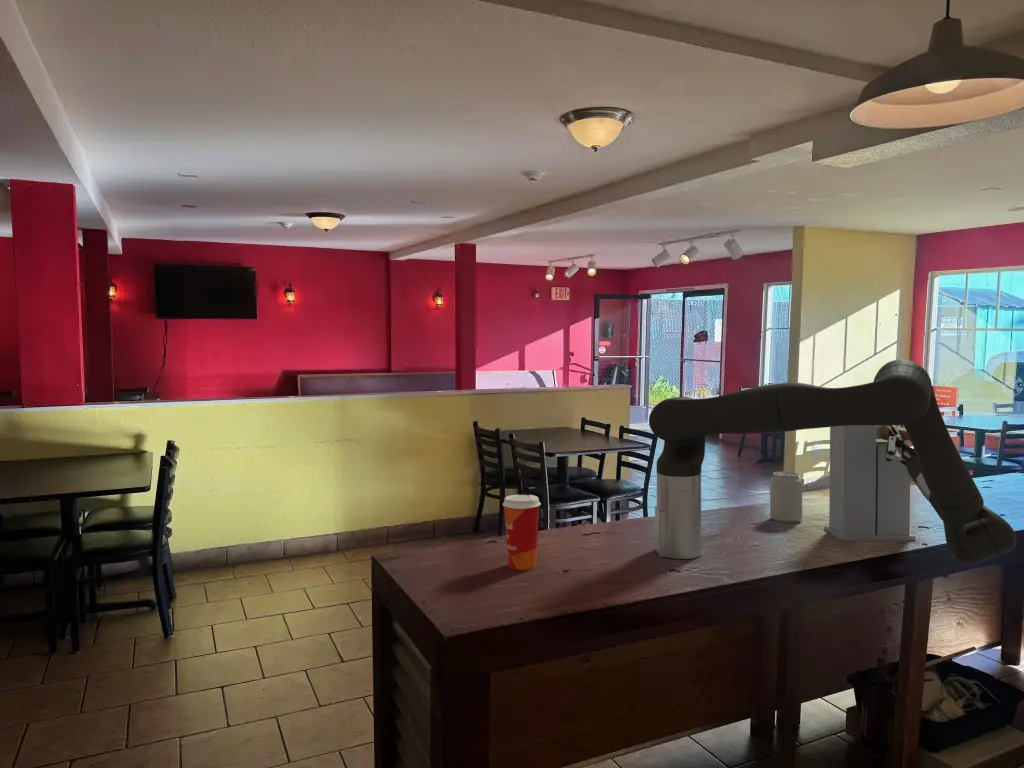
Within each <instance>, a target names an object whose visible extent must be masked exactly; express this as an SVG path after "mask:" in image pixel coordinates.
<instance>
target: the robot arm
mask: <svg viewBox="0 0 1024 768" xmlns="http://www.w3.org/2000/svg"><path fill="white" fill-rule="evenodd" d="M648 417H649V418H648V425H649V428H650V430H651V432H652V433H653V434H654V436H656V437H657V439H658V438H659V439H660V440H662V441H663V442H664V443H663V449H662V451H661V454H660V455H659V456H658V458H657V460H656V505H655V506H654V549H655V552H656V553H657V555H658V557H660V558H668V559H675V560H677V559H678V560H688V559H689V560H690V559H695V558H698V557H700V556H701V555H702V547H703V546H702V545H703V544H702V465H703V462H704V461H705V460H704V459H705V456H706V455H705V454H706V436H713V435H720V434H721V435H727V434H730V435H754V434H756V435H758V434H772V433H773V434H775V433H784V432H794V431H802V430H803V431H804V430H811V429H813V430H814V429H821V428H822V429H824V428H830V427H834V426H847V425H892V426H891V428H890V429H889V432H888V434H889V436H890V437H889V440H888V443H887V446H886V458H885V459H886V460H887V461H892V459H895V460H900V462H901V463H902V464H903V465H905V466H906V467H907V470H908V473H909V475H910V479H912V481H913V482H914V484H915V485H916V486H917V487H916V488H918V489H919V491H920V493H921V494H922V496H923V497H924V498H925V500H927V502H929V504H930V505H931V506H932V508H933V509H934V511H935V513H936V515H938V517H939V518H940V520H941V521H942V522H943V527H944V537H945V542H946V546H947V549H948V551H949V553H950V554H951V555H952V557H953V558H954V559H955V560H956V561H958V562H959V563H961V564H964V565H967V566H971V565H972V566H973V565H976V564H980V563H981V562H984V561H987V560H991V559H992V558H995V557H998V556H1001V555H1004V554H1007V553H1009V552H1011V551H1012V550H1014V549H1015V547H1016V545H1017V535H1016V532H1015V530H1014V528H1013V527H1012V526H1011V524H1010V523H1009V522H1008V521H1006V520H1005V519H1004V518H1003V517H1001V515H999V514H998V513H996V512H994V511H993V510H992V509H990V508H988V507H987V506H986V505H984V504H985V501H984V497H983V496H982V494H981V491H980V490H979V488H978V486H977V485H976V482H975V481H974V478H973V477H972V475H971V473H970V471H969V469H968V468H967V466H966V464H965V462H964V459H963V458H962V456H961V455H960V453H959V450H958V448H957V447H956V445H955V443H954V441H953V439H952V437H951V434H950V432H949V430H948V428H947V426H946V423H945V420H944V417H943V416H942V413H941V410H940V407H939V404H938V402H937V398H936V394H935V391H934V389H933V385H932V379H931V377H930V375H929V373H928V372H927V370H926V369H925V368H924V367H923V366H921V365H920V364H919V363H918V362H914V361H912V360H909V359H894V360H891V361H888V362H886V363H885V364H884V365H882V367H880V369H878V371H877V373H876V374H875V376H874V379H873V381H871V382H868V383H862V384H858V385H851V386H843V387H827V386H826V387H825V386H818V385H814V384H810V383H804V382H781V383H774V384H773V383H772V384H766V385H761V386H755V387H750V388H745V389H741V390H737V391H734V392H729V393H726V394H722V395H719V396H718V395H717V396H713V397H707V398H693V397H689V396H679V397H677V396H676V397H670V398H665V399H663V400H661V401H660V402H659V403H657V404H656V405H655V406H654V407H653V408H652V410H651V411H650V414H649V415H648ZM896 425H899V426H903V428H905V429H906V431H907V433H908V435H909V438H910V440H911V442H910V441H909V440H906V439H905V438H904V437H903V436H902V434H901V433H900V431H899V430H898V428H897V427H896ZM895 447H896V448H897V449H898V450H899V453H900V454H899V453H898V451H897V449H896V448H895Z"/></svg>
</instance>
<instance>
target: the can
mask: <svg viewBox="0 0 1024 768" xmlns="http://www.w3.org/2000/svg"><path fill="white" fill-rule="evenodd" d="M772 475H773V476H772V477H771V478H769V481H770V482H769V484H770V485H769V487H770V488H769V489H770V490H769V495H770V496H769V503H770V504H769V513H770V514H769V517H770V518H771V519H772V520H773V521H775V522H777V523H782V524H797V523H799V522H800V521H801V520H802V518H803V480H802V478H801V477H800V474H799V473H798V472H793V471H774V472H773V473H772Z"/></svg>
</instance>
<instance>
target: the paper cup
mask: <svg viewBox="0 0 1024 768" xmlns="http://www.w3.org/2000/svg"><path fill="white" fill-rule="evenodd" d="M541 505H542V503H541V502H540V500H539V497H538V496H536V495H534V494H528V495H527V494H511V495H507V496H505V497H504V501H503V503H502V506H503V509H504V519H505V520H504V522H505V523H504V524H505V534H506V535H505V537H506V538H505V539H506V549H507V562H508V567H509V569H511V570H515V571H529V570H533V569H535V568H536V567H537V558H538V544H539V543H538V542H539V537H538V536H539V519H540V518H539V516H540V515H539V513H540V506H541Z"/></svg>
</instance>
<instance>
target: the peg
mask: <svg viewBox="0 0 1024 768" xmlns="http://www.w3.org/2000/svg"><path fill="white" fill-rule="evenodd" d="M891 426H892V425H876V440H882V441H888V440H889V437H890V436H889V434H888V432H889V429H890V428H891ZM896 427H897V428H898V430H899V431H900V433H901V434H902V436H903V437H904V438H905V439H906V440H909V441H910V442H911V440H910V438H909V435H908V433H907V431H906V429H905V427H904V426H900V425H896Z"/></svg>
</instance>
